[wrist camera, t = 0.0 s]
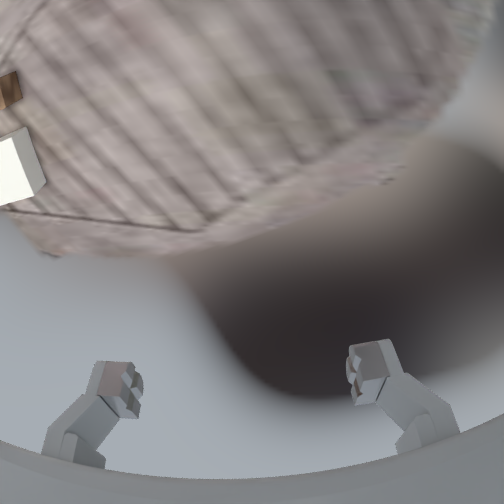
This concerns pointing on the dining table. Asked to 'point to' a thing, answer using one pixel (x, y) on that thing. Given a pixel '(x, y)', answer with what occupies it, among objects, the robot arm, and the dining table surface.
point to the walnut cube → (9, 90)
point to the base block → (19, 167)
